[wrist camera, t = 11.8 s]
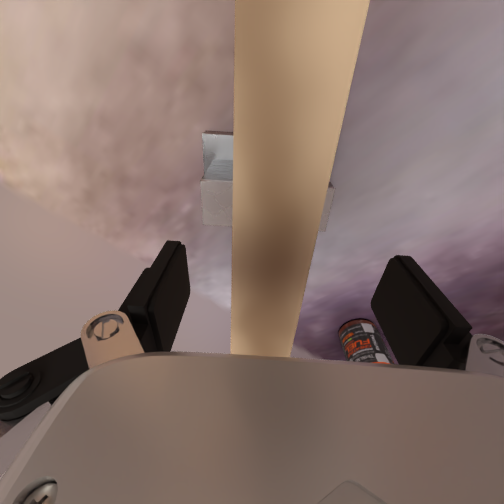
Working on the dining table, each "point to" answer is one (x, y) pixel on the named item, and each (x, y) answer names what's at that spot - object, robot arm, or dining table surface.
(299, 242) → the oak bar
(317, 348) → the dining table surface
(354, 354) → the supplement bottle
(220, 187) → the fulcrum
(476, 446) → the robot arm
